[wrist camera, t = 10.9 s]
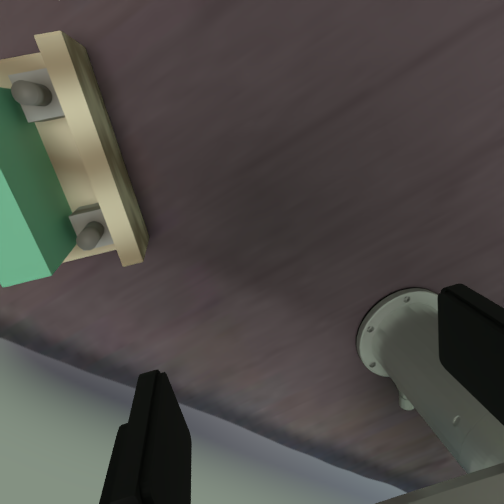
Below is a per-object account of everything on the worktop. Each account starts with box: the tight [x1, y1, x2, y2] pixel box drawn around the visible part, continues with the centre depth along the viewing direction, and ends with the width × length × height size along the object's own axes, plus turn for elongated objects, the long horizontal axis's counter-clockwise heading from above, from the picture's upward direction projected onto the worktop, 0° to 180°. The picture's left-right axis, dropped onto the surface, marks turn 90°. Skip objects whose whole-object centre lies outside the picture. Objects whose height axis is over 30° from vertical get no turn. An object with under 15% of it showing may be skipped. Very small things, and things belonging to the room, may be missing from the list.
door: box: [0, 87, 77, 287], centre depth 24 cm, size 12×4×8 cm, turn 11°
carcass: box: [0, 31, 149, 267], centre depth 26 cm, size 16×14×7 cm
